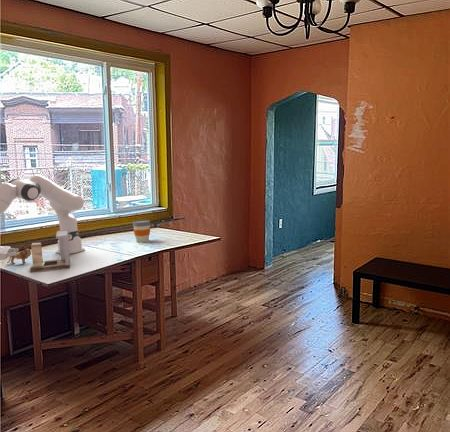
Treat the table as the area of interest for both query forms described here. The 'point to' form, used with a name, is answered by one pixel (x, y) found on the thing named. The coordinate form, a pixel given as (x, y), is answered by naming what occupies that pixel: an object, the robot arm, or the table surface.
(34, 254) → the beech block
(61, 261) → the walnut board
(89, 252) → the table surface
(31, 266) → the sage pad
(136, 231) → the reusable coffee cup
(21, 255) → the lion figurine
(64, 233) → the grey tunnel
